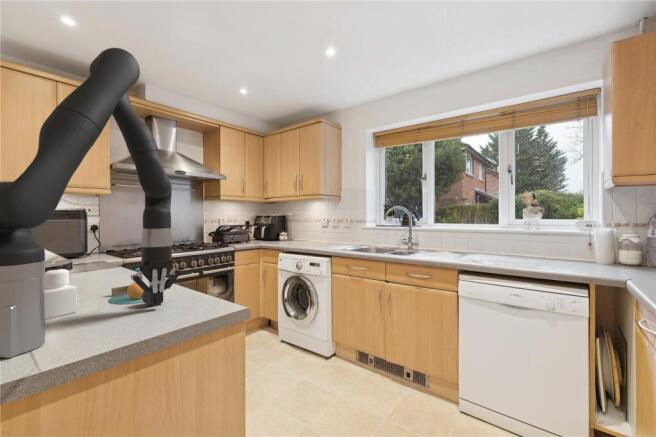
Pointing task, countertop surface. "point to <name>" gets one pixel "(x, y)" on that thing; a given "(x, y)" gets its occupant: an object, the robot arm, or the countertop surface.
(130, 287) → the orange ball
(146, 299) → the black ball
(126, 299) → the teal mark
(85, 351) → the countertop surface
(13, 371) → the countertop surface
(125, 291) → the walnut stopper strip
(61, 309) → the medicine bottle
